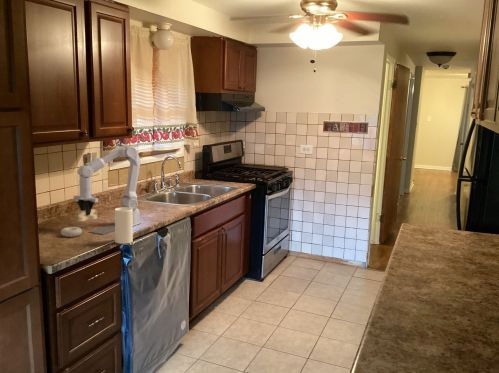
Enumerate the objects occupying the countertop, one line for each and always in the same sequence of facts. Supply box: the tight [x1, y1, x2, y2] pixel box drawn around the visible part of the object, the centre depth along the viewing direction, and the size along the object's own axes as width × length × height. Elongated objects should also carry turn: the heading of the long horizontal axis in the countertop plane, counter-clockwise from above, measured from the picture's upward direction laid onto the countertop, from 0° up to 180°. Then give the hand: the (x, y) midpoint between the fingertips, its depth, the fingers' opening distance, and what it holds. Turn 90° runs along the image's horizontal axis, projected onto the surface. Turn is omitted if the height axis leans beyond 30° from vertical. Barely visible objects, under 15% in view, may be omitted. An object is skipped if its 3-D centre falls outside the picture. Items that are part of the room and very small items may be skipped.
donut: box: [60, 226, 83, 238], centre depth 225 cm, size 10×4×10 cm
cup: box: [114, 206, 134, 244], centre depth 216 cm, size 8×8×16 cm
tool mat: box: [88, 224, 115, 236], centre depth 237 cm, size 18×9×1 cm, turn 158°
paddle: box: [74, 208, 99, 223], centre depth 235 cm, size 14×2×5 cm, turn 158°
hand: (86, 214), depth 234 cm, fingers closed on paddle, 2 cm apart
